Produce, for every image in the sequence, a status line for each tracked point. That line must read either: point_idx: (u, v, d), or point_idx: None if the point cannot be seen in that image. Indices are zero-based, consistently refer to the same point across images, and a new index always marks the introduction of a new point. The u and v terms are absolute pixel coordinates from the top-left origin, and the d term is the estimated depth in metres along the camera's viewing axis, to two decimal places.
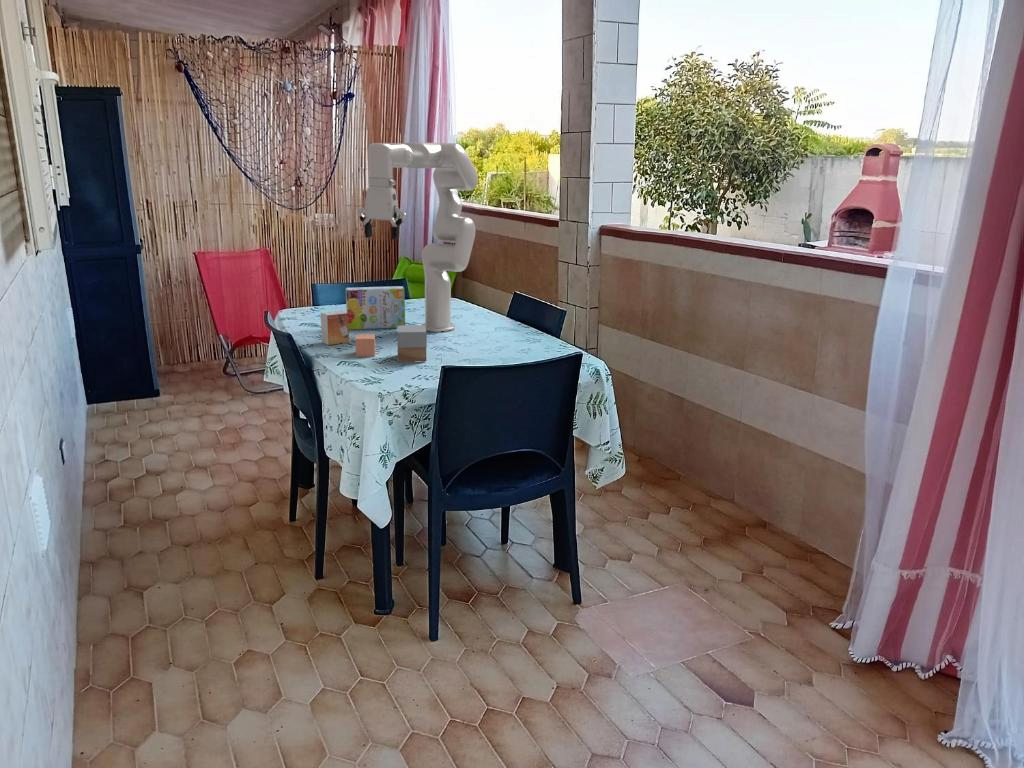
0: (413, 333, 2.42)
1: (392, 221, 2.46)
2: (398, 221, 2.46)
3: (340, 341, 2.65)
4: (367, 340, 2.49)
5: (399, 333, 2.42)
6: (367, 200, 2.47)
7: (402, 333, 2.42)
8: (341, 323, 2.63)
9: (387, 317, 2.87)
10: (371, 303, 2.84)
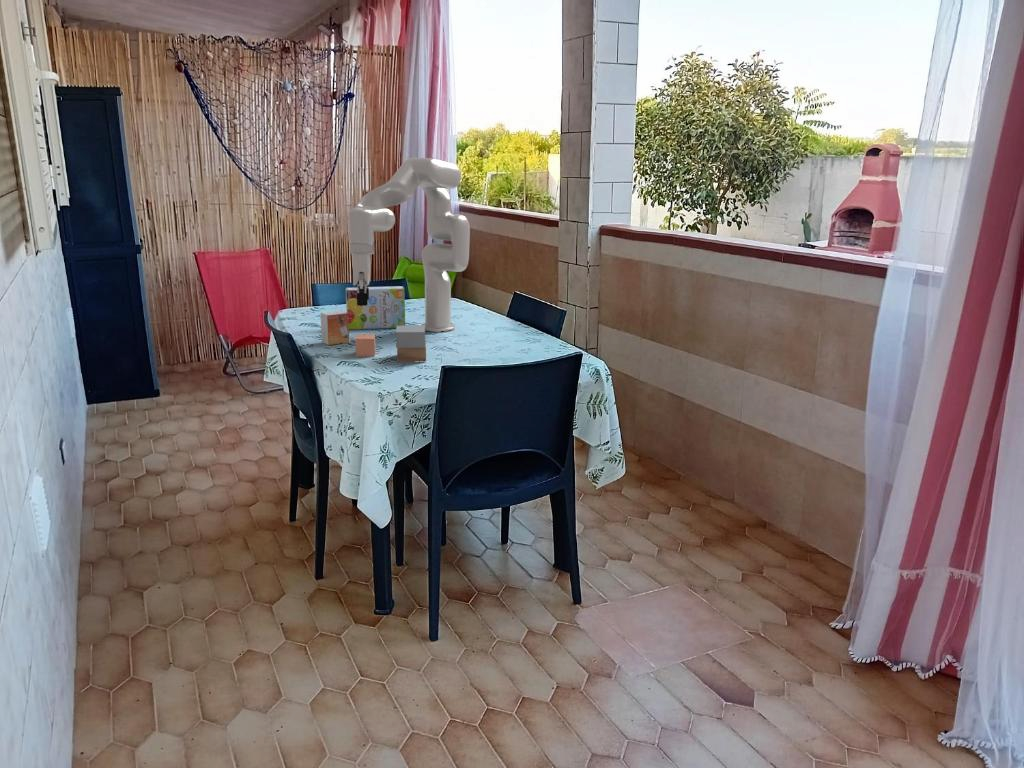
0: (411, 333, 2.42)
1: None
2: None
3: (340, 341, 2.65)
4: (367, 340, 2.49)
5: (397, 333, 2.42)
6: (368, 267, 2.41)
7: (400, 333, 2.42)
8: (341, 323, 2.63)
9: (387, 317, 2.87)
10: (371, 303, 2.84)
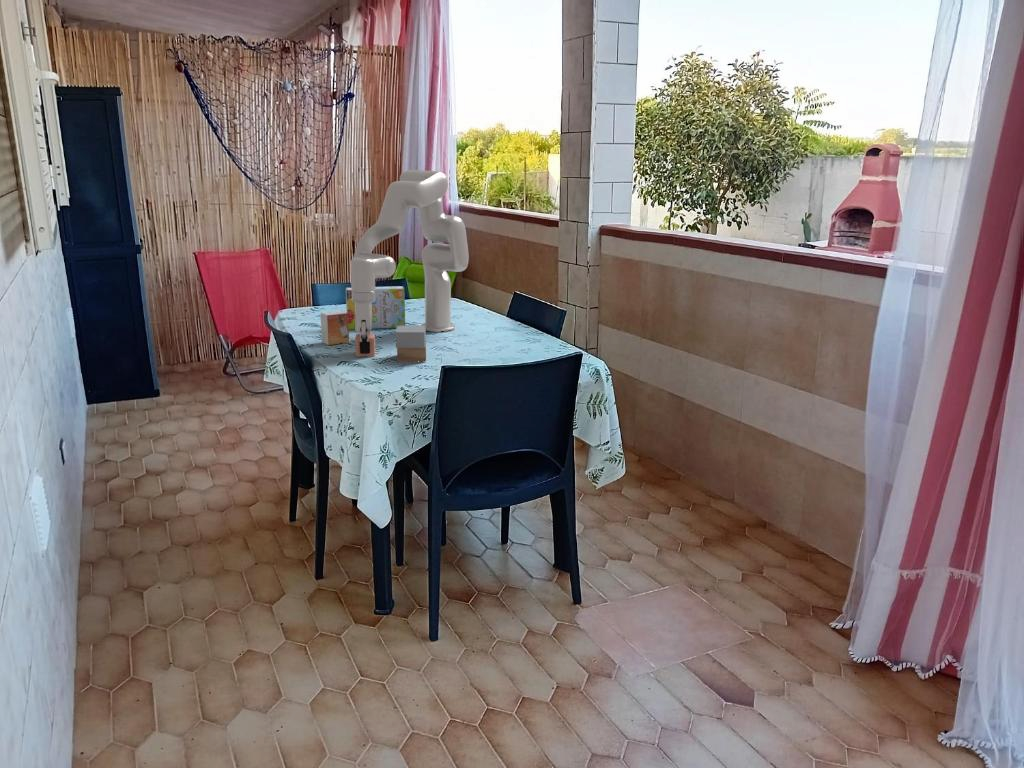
0: (411, 333, 2.42)
1: None
2: None
3: (340, 341, 2.65)
4: None
5: (397, 333, 2.42)
6: (370, 314, 2.46)
7: (400, 333, 2.42)
8: (341, 323, 2.63)
9: (387, 317, 2.87)
10: None
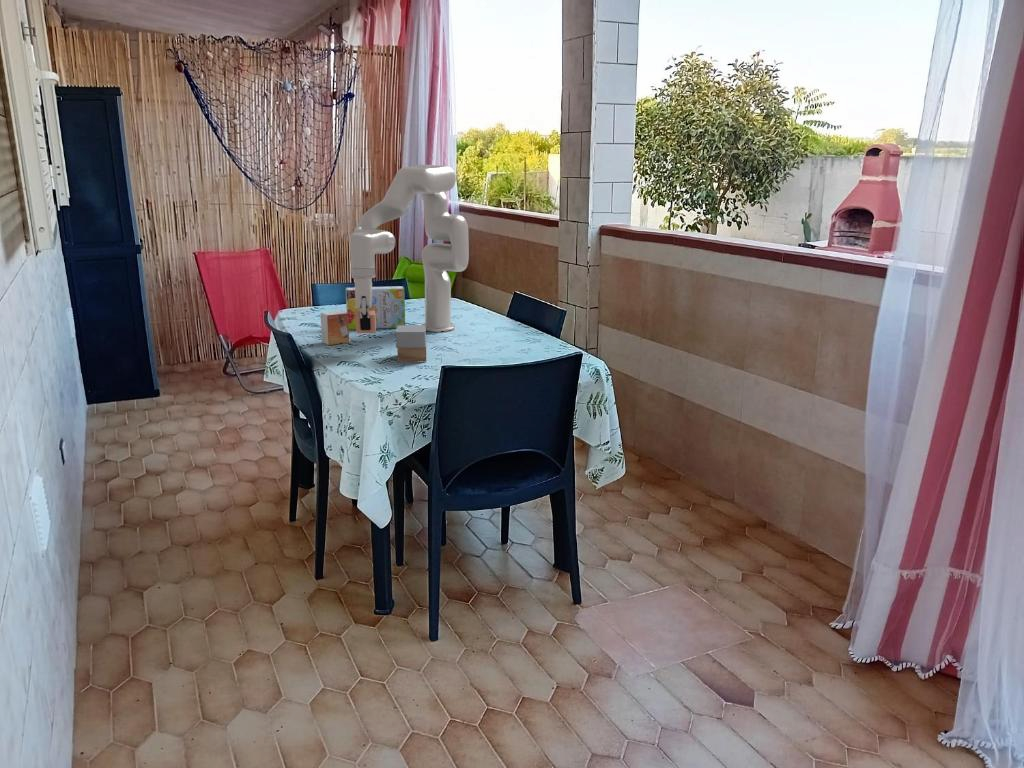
0: (411, 333, 2.42)
1: None
2: None
3: (340, 341, 2.65)
4: None
5: (397, 333, 2.42)
6: (370, 290, 2.44)
7: (400, 333, 2.42)
8: (341, 323, 2.63)
9: (387, 317, 2.87)
10: None
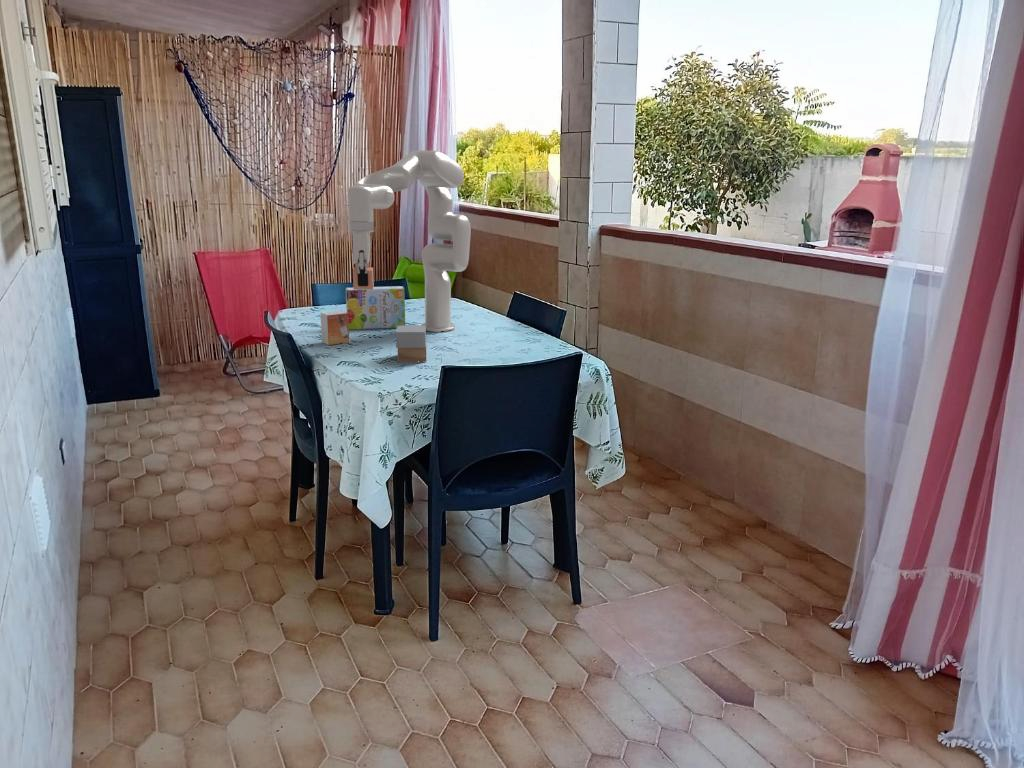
0: (412, 333, 2.42)
1: (367, 263, 2.48)
2: None
3: (340, 341, 2.65)
4: None
5: (398, 333, 2.42)
6: (368, 245, 2.39)
7: (401, 333, 2.42)
8: (341, 323, 2.63)
9: (387, 317, 2.87)
10: (371, 303, 2.84)
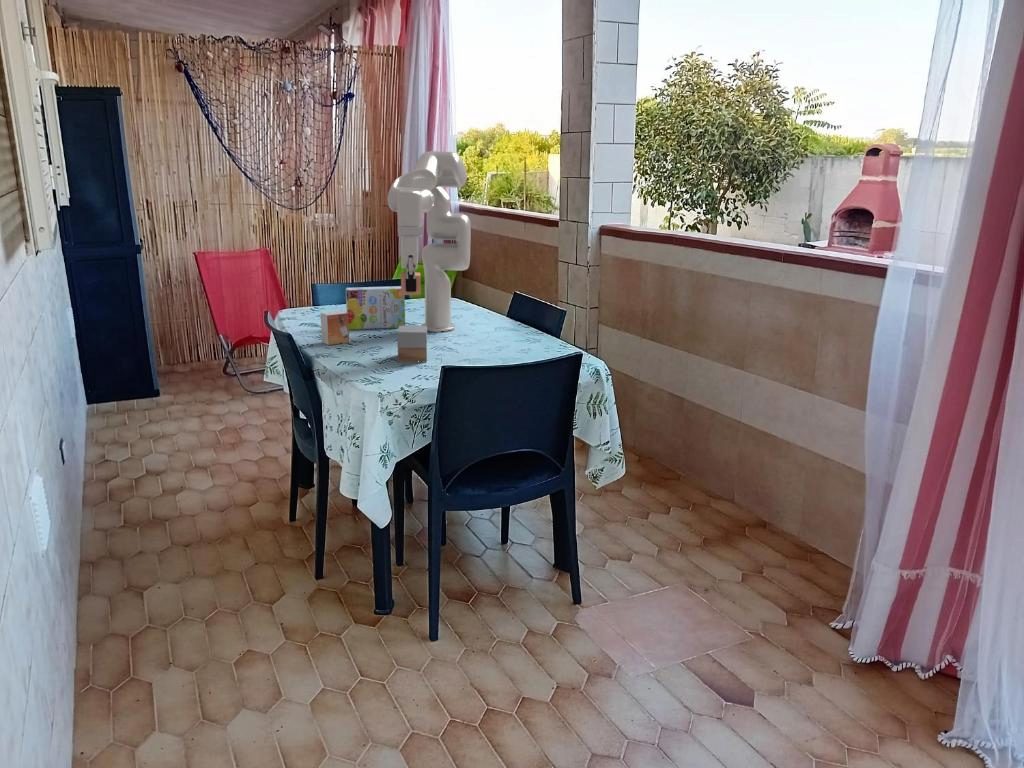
0: (413, 333, 2.42)
1: None
2: None
3: (340, 341, 2.65)
4: None
5: (399, 333, 2.42)
6: (417, 250, 2.36)
7: (402, 333, 2.42)
8: (341, 323, 2.63)
9: (387, 317, 2.87)
10: (371, 303, 2.84)
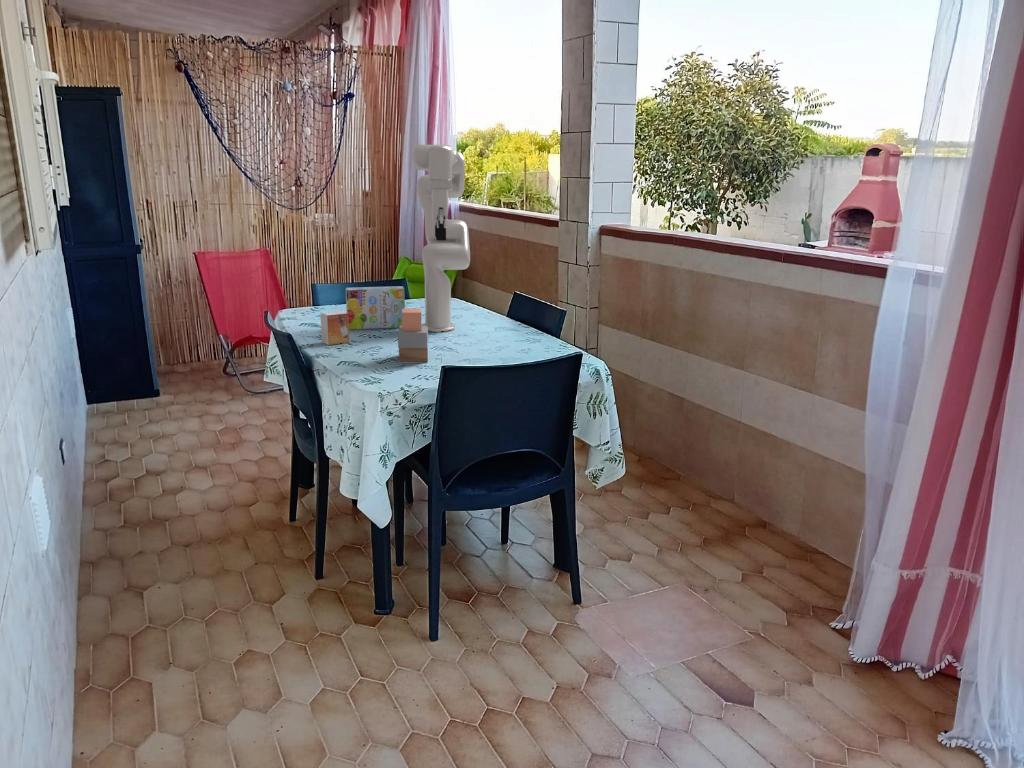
0: (413, 333, 2.42)
1: None
2: None
3: (340, 341, 2.65)
4: (414, 314, 2.42)
5: (399, 333, 2.41)
6: (447, 202, 2.49)
7: (402, 333, 2.41)
8: (341, 323, 2.63)
9: (387, 317, 2.87)
10: (371, 303, 2.84)
